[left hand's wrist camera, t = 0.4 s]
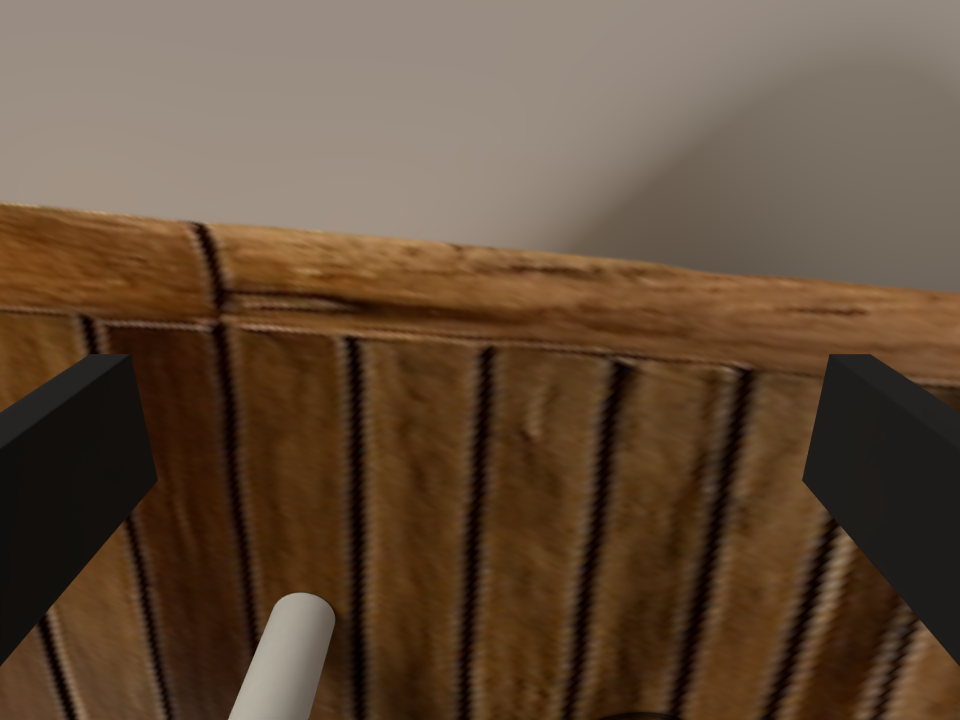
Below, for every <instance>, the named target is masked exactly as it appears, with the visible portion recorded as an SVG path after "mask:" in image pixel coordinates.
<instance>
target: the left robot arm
mask: <svg viewBox="0 0 960 720" xmlns="http://www.w3.org/2000/svg"><path fill="white" fill-rule="evenodd" d="M157 481H158V479H157V474H156V470H155V465H154V460H153V456H152V451H151V447H150V442H149V437H148V433H147V428H146V424H145V419H144V414H143V410H142V405H141V401H140V396H139V391H138V387H137V382H136V378H135V373H134V368H133V364H132V359H131V354H89V355H88V356H86V357H85V358H83V359H82V360H80V361H79V362H77V363H76V364H74V365H73V366H71V367H69V368H68V369H66V370H65V371H63V372H62V373H60V374H59V375H57V376H56V377H54V378H53V379H51V380H50V381H48V382H46V383H45V384H43V385H42V386H40V387H39V388H37V389H36V390H34V391H33V392H31V393H30V394H28V395H27V396H25V397H23V398H22V399H20V400H19V401H17V402H16V403H14V404H13V405H11V406H10V407H8V408H7V409H5V410H4V411H2V412H0V666H1V665H2V664H3V663H4V661H5V660H6V659H7V658H8V657H9V655H10V654H11V653H12V652H13V651H14V650H15V648H16V647H17V646H18V645H19V644H20V643H21V641H22V640H23V639H24V638H25V637H26V635H27V634H28V633H29V632H30V631H31V630H32V628H33V627H34V626H35V625H36V624H37V622H38V621H39V620H40V619H41V618H42V617H43V615H44V614H45V613H46V612H47V611H48V609H49V608H50V607H51V606H52V605H53V604H54V602H55V601H56V600H57V599H58V598H59V596H60V595H61V594H62V593H63V592H64V591H65V589H66V588H67V587H68V586H69V585H70V583H71V582H72V581H73V580H74V579H75V578H76V576H77V575H78V574H79V573H80V572H81V570H82V569H83V568H84V567H85V566H86V565H87V563H88V562H89V561H90V560H91V559H92V557H93V556H94V555H95V554H96V553H97V552H98V550H99V549H100V548H101V547H102V546H103V544H104V543H105V542H106V541H107V540H108V539H109V537H110V536H111V535H112V534H113V533H114V531H115V530H116V529H117V528H118V527H119V526H120V524H121V523H122V522H123V521H124V520H125V519H126V517H127V516H128V515H129V514H130V513H131V511H132V510H133V509H134V508H135V507H136V506H137V504H138V503H139V502H140V501H141V500H142V498H143V497H144V496H145V495H146V494H147V493H148V491H149V490H150V489H151V488H152V487H153V485H154V484H155V483H156V482H157ZM802 481H803V482H804V483H805V484H806V485H807V487H808V488H809V489H810V490H811V491H812V493H813V494H814V495H815V496H816V497H817V498H818V500H819V501H820V502H821V503H822V504H823V506H824V507H825V508H826V509H827V510H828V511H829V513H830V514H831V515H832V516H833V517H834V519H835V520H836V521H837V522H838V523H839V524H840V526H841V527H842V528H843V529H844V530H845V531H846V533H847V534H848V535H849V536H850V537H851V539H852V540H853V541H854V542H855V543H856V544H857V546H858V547H859V548H860V549H861V550H862V552H863V553H864V554H865V555H866V556H867V557H868V559H869V560H870V561H871V562H872V563H873V565H874V566H875V567H876V568H877V569H878V570H879V572H880V573H881V574H882V575H883V576H884V578H885V579H886V580H887V581H888V582H889V583H890V585H891V586H892V587H893V588H894V589H895V591H896V592H897V593H898V594H899V595H900V596H901V598H902V599H903V600H904V601H905V602H906V604H907V605H908V606H909V607H910V608H911V609H912V611H913V612H914V613H915V614H916V615H917V617H918V618H919V619H920V620H921V621H922V622H923V624H924V625H925V626H926V627H927V628H928V630H929V631H930V632H931V633H932V634H933V635H934V637H935V638H936V639H937V640H938V641H939V643H940V644H941V645H942V646H943V647H944V648H945V650H946V651H947V652H948V653H949V654H950V655H951V657H952V658H953V659H954V660H955V661H956V663H957V664H958V665H959V666H960V412H958V411H956V410H955V409H953V408H952V407H950V406H949V405H947V404H946V403H944V402H943V401H941V400H940V399H938V398H937V397H935V396H933V395H932V394H930V393H929V392H927V391H926V390H924V389H923V388H921V387H920V386H918V385H917V384H915V383H914V382H912V381H910V380H909V379H907V378H906V377H904V376H903V375H901V374H900V373H898V372H897V371H895V370H894V369H892V368H891V367H889V366H887V365H886V364H884V363H883V362H881V361H880V360H878V359H877V358H875V357H874V356H872V355H871V354H829V359H828V364H827V368H826V373H825V378H824V382H823V387H822V391H821V396H820V401H819V405H818V410H817V414H816V419H815V424H814V428H813V433H812V437H811V442H810V447H809V451H808V456H807V460H806V465H805V470H804V474H803V479H802ZM600 720H679V719H676V718H673V717H670V716H666V715H660V714H653V713H628V714H620V715H614V716H610V717H606V718H603V719H600Z"/></svg>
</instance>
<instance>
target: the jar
mask: <svg viewBox="0 0 960 720" xmlns="http://www.w3.org/2000/svg"><path fill="white" fill-rule="evenodd" d="M334 625H335V615H334V612H333V610H332V608H331V606H330V605H329V604H328V603H327V602H326V601H325V600H323V599H322V598H320V597H318V596H315V595H313V594H308V593H293V594H289V595H287V596H285V597H283V598H282V599H280V600H279V601H278V602H277V603H276V605H275V606H274V608H273V611H272V613H271V616H270V618H269V621H268V623H267V626H266V628H265V630H264V633H263V635H262V638H261V640H260V643H259V645H258V648H257V650H256V653H255V655H254V658H253V660H252V662H251V665H250V667H249V670H248V672H247V675H246V677H245V680H244V682H243V685H242V687H241V690H240V692H239V694H238V697H237V699H236V702H235V704H234V707H233V709H232V712H231V714H230V717H229V719H228V720H308V719H309V715H310V712H311V708H312V704H313V701H314V697H315V694H316V690H317V686H318V683H319V679H320V676H321V672H322V668H323V665H324V661H325V658H326V654H327V650H328V647H329V643H330V639H331V636H332V632H333V629H334Z"/></svg>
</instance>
